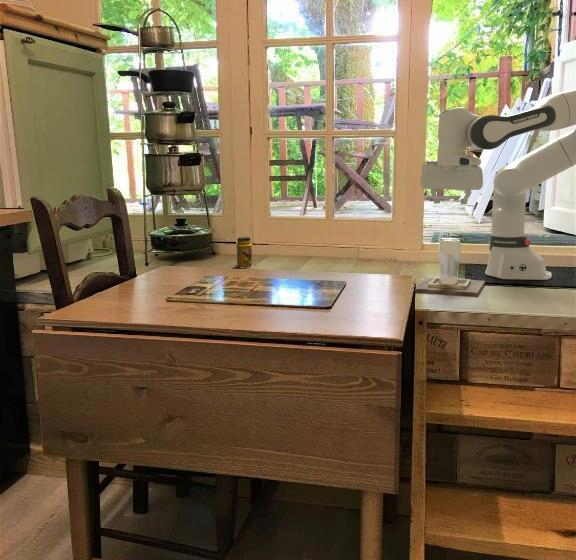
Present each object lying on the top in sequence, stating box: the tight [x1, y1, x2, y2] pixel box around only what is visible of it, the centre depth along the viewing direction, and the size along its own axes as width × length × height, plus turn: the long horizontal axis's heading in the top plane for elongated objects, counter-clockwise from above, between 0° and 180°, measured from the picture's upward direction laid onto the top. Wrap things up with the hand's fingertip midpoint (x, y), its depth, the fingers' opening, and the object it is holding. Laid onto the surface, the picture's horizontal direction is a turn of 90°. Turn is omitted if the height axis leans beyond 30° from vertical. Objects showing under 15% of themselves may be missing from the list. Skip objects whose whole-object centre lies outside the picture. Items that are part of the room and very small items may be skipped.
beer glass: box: [438, 237, 462, 285], centre depth 202 cm, size 7×7×15 cm
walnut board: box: [415, 276, 486, 297], centre depth 204 cm, size 20×20×2 cm
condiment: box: [232, 236, 255, 269], centre depth 251 cm, size 7×8×12 cm
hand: (450, 203), depth 201 cm, fingers open, 8 cm apart
